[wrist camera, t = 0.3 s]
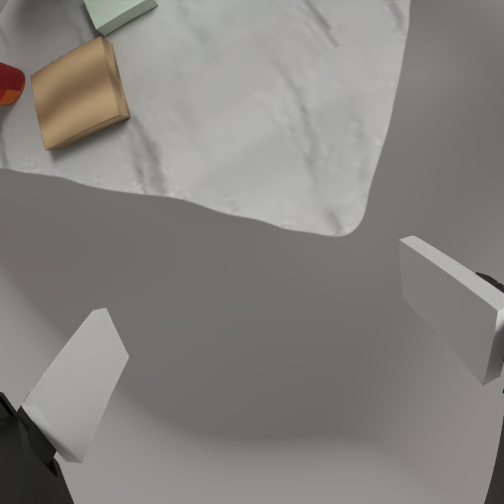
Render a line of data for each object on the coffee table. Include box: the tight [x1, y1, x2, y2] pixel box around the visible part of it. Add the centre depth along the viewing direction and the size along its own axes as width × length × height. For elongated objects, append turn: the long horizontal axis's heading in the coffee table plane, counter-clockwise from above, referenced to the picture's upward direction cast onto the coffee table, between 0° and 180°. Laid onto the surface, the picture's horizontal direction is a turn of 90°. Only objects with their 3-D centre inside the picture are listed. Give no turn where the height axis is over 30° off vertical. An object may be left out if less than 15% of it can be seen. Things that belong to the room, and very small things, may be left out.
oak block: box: [30, 36, 130, 150], centre depth 33 cm, size 11×11×4 cm
